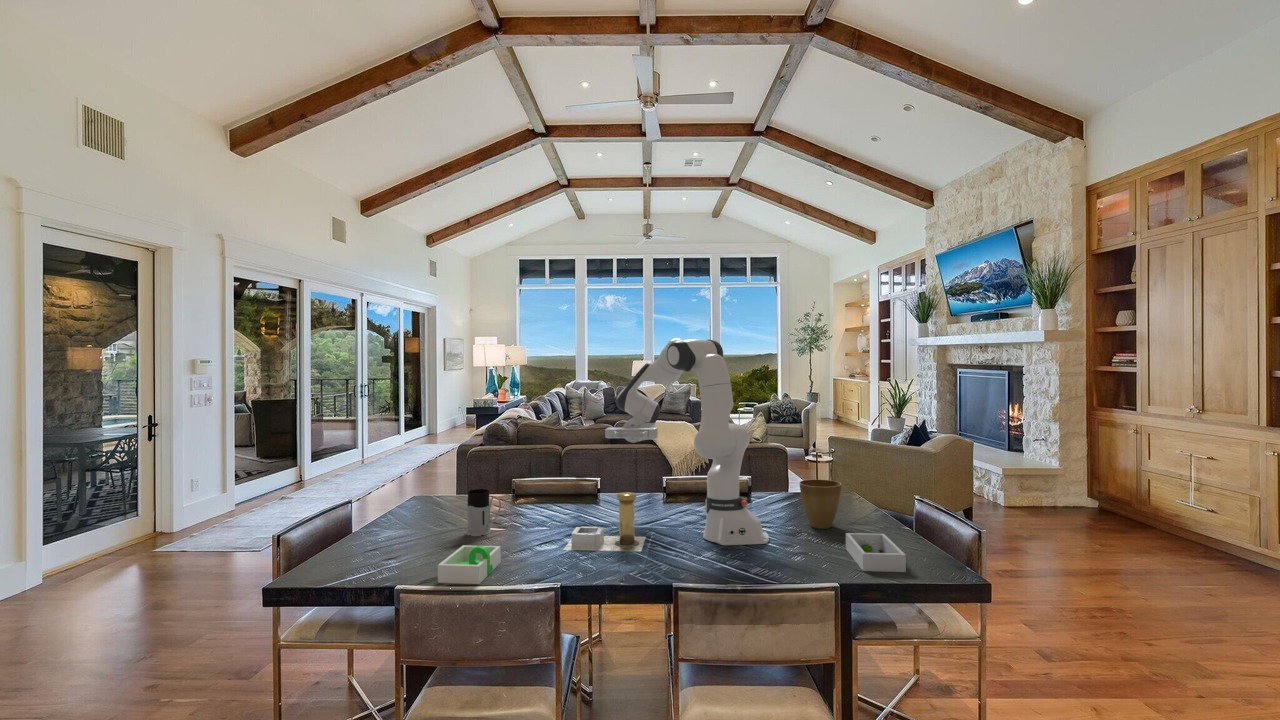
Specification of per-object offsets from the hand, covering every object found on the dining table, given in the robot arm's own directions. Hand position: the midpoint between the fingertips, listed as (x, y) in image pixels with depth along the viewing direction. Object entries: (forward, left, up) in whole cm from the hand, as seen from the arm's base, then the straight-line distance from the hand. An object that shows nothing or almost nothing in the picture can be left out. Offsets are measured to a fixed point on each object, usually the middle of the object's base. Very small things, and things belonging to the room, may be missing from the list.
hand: (629, 435), depth 226 cm
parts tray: (+41, +52, -34) cm, 75 cm away
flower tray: (-79, +32, -34) cm, 92 cm away
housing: (+5, +26, -34) cm, 43 cm away
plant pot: (-70, -5, -34) cm, 78 cm away
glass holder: (+51, +13, -34) cm, 63 cm away
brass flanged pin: (-2, +26, -32) cm, 42 cm away
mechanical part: (+41, +52, -34) cm, 75 cm away
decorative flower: (-79, +34, -34) cm, 92 cm away
